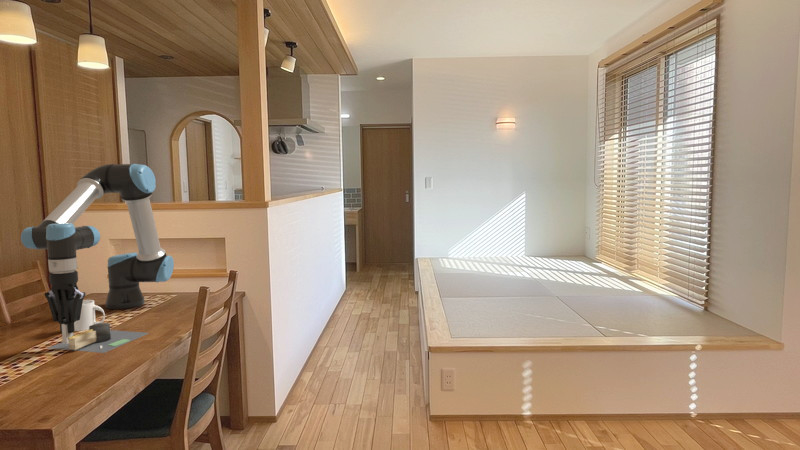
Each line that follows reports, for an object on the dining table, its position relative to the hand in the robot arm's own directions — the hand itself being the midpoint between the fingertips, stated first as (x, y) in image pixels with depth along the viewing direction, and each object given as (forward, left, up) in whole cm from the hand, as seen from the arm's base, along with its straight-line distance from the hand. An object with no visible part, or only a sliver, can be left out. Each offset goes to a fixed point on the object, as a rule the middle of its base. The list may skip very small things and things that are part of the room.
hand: (68, 342), depth 154 cm
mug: (-20, -12, -3) cm, 23 cm away
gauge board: (-8, +4, -3) cm, 10 cm away
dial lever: (-4, +4, -2) cm, 6 cm away
